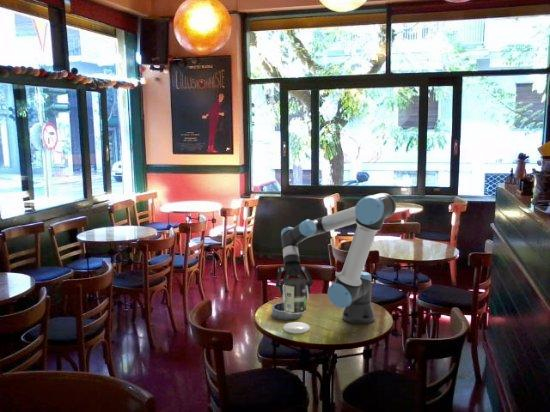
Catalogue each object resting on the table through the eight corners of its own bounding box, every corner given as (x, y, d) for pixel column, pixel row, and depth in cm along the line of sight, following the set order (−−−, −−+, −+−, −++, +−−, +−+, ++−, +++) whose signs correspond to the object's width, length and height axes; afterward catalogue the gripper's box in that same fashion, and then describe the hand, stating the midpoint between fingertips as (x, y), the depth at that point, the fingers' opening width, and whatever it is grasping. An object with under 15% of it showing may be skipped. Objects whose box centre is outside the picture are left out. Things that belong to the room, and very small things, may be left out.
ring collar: (305, 311, 265) (305, 304, 264) (295, 321, 252) (295, 313, 251) (279, 308, 270) (279, 300, 270) (267, 317, 257) (267, 309, 257)
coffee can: (307, 307, 246) (308, 278, 244) (304, 315, 236) (304, 284, 234) (286, 306, 248) (286, 277, 246) (282, 313, 238) (281, 283, 236)
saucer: (313, 325, 246) (313, 324, 246) (304, 335, 235) (304, 333, 235) (289, 322, 251) (289, 320, 251) (279, 331, 240) (279, 329, 240)
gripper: (313, 260, 256) (319, 302, 243) (267, 262, 253) (270, 304, 240) (315, 252, 250) (322, 295, 237) (268, 254, 247) (271, 297, 234)
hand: (296, 300), depth 238 cm, fingers closed on coffee can, 10 cm apart
